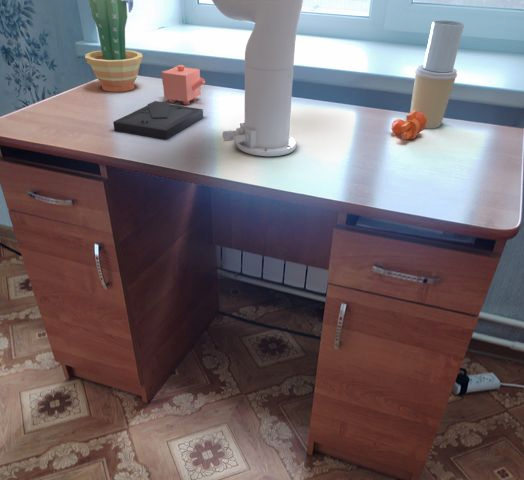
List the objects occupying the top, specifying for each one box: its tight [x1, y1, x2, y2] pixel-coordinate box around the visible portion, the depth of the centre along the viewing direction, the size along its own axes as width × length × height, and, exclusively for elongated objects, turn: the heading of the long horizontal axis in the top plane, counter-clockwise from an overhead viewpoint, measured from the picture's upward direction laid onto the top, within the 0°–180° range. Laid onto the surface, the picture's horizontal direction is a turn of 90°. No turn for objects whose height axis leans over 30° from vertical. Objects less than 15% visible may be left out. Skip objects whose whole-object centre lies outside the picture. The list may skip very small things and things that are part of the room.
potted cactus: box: [84, 0, 143, 93], centre depth 133 cm, size 16×15×25 cm
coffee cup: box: [409, 64, 458, 129], centre depth 120 cm, size 9×9×12 cm
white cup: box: [422, 19, 465, 72], centre depth 113 cm, size 7×7×9 cm
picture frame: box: [112, 100, 204, 140], centre depth 117 cm, size 13×2×18 cm
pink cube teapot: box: [161, 64, 206, 105], centre depth 130 cm, size 8×12×8 cm, turn 69°
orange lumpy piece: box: [390, 110, 427, 140], centre depth 115 cm, size 5×8×12 cm
